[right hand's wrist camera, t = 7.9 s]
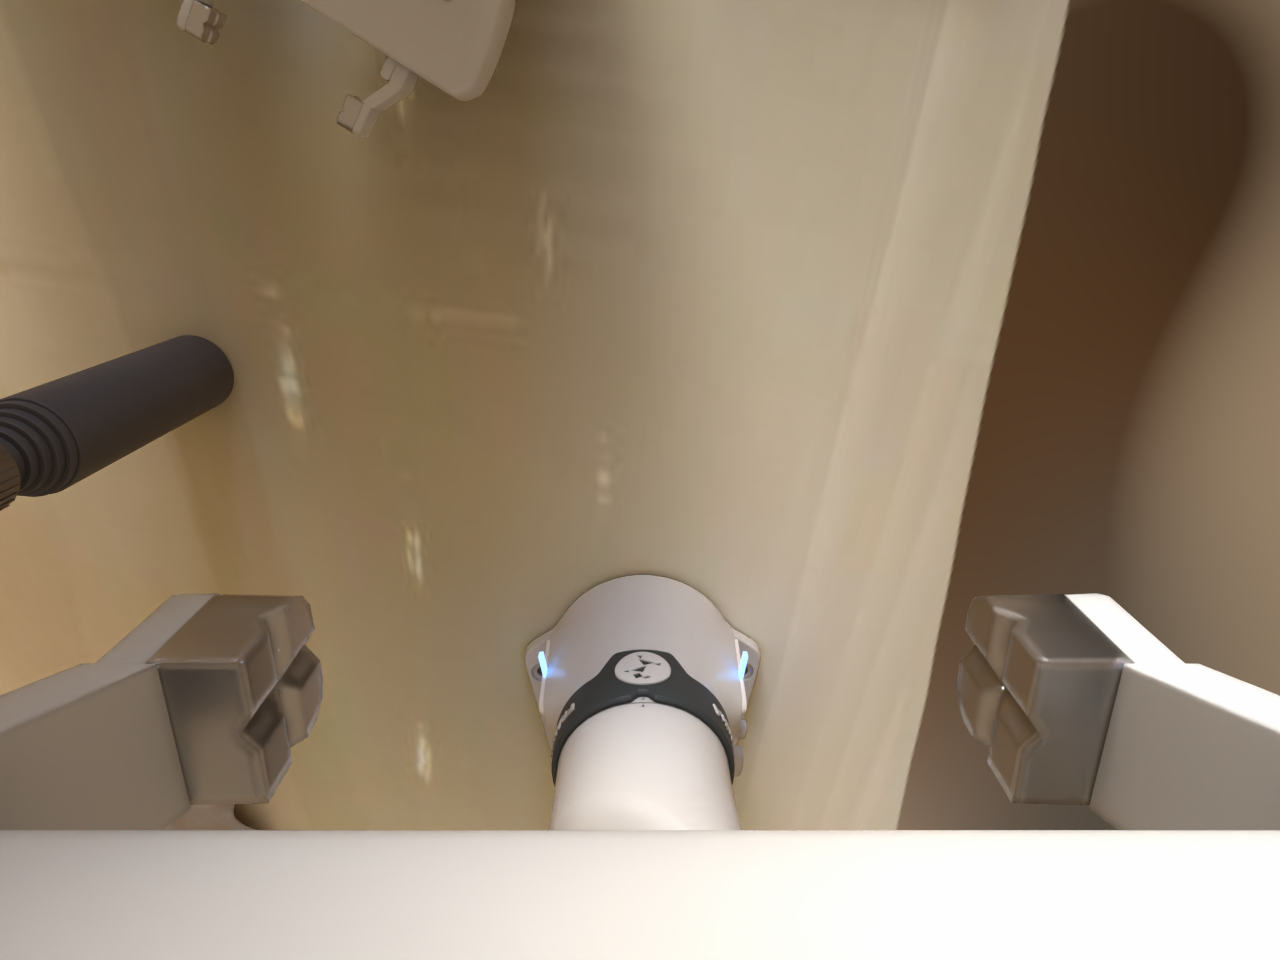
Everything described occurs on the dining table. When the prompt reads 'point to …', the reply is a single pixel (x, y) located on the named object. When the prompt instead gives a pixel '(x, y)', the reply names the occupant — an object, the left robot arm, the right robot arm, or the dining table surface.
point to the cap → (8, 478)
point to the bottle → (109, 411)
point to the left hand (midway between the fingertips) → (274, 84)
